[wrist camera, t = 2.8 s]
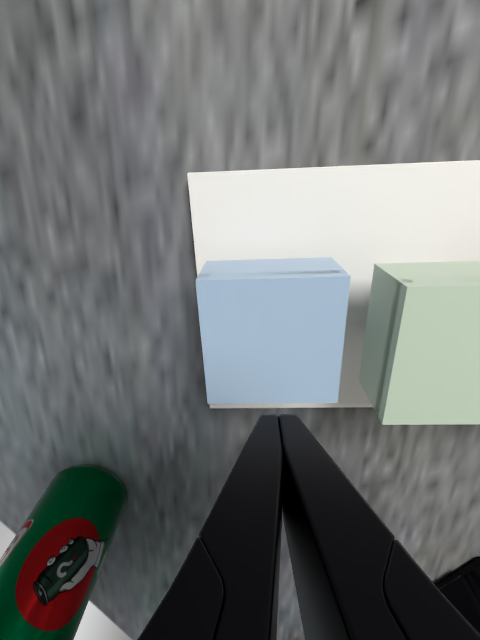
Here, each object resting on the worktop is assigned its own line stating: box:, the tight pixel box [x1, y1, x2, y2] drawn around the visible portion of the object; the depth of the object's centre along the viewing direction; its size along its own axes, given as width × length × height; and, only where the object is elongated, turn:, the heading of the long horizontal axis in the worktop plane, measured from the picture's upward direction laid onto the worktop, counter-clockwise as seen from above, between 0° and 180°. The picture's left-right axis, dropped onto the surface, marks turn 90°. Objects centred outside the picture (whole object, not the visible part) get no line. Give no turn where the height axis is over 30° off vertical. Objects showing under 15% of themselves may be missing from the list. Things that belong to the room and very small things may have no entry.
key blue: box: [195, 257, 351, 404], centre depth 13 cm, size 5×5×3 cm
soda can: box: [0, 464, 127, 640], centre depth 17 cm, size 5×5×12 cm
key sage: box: [359, 261, 480, 425], centre depth 12 cm, size 5×5×3 cm
